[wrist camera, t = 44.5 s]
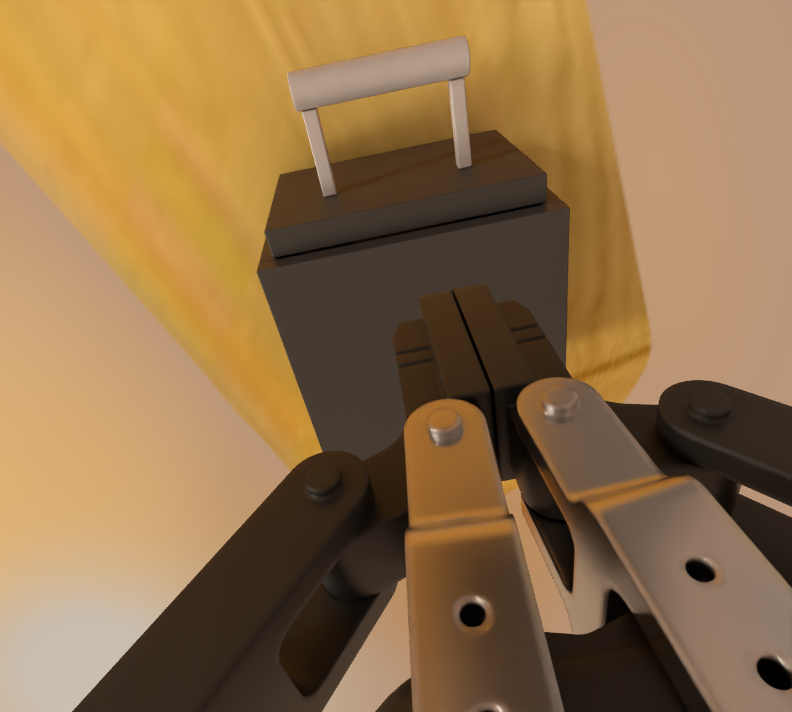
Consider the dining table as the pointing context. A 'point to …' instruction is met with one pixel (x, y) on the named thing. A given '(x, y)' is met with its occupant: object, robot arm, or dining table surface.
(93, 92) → the dining table surface
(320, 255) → the dark drawer cabinet
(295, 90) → the drawer with bar handle
